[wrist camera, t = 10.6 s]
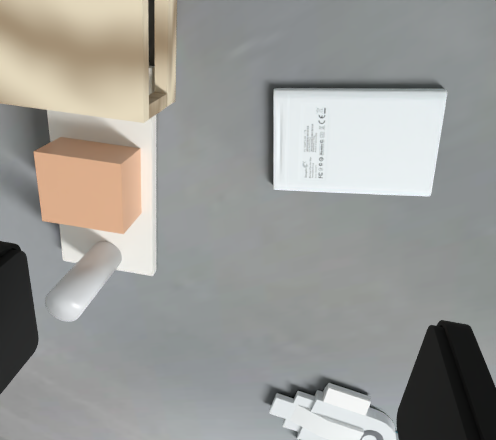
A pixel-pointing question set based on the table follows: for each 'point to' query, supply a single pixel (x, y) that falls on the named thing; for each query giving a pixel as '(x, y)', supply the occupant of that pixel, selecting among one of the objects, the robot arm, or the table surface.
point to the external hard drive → (357, 139)
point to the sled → (98, 201)
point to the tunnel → (87, 56)
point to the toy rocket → (333, 416)
